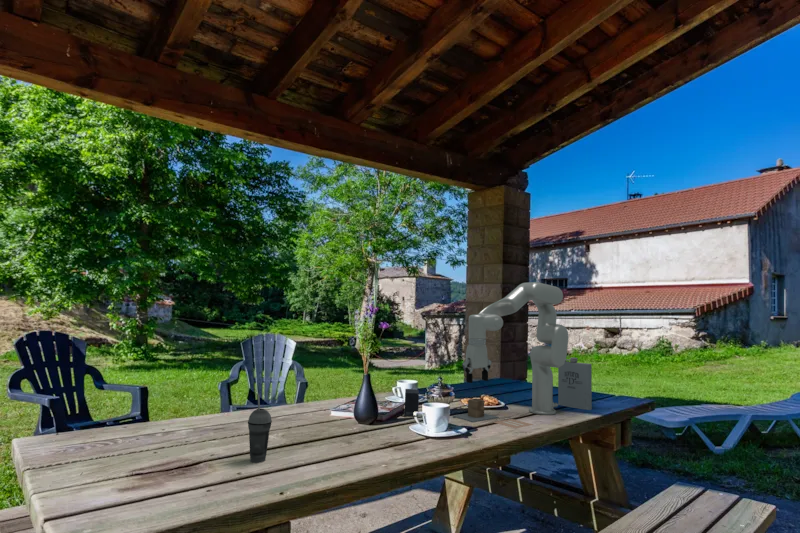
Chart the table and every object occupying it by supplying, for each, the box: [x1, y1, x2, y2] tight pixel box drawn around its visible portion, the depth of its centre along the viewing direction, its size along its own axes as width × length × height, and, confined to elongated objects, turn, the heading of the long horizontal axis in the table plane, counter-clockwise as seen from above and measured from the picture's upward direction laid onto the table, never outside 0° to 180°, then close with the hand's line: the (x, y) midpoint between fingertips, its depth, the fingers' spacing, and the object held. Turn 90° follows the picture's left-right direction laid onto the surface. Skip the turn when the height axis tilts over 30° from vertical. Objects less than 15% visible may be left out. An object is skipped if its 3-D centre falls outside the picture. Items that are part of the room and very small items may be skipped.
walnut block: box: [467, 398, 485, 418], centre depth 213 cm, size 5×5×7 cm
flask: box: [557, 357, 593, 411], centre depth 249 cm, size 17×5×25 cm, turn 44°
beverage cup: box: [247, 393, 273, 464], centre depth 150 cm, size 7×7×20 cm
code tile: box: [493, 418, 534, 429], centre depth 204 cm, size 12×12×1 cm
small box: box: [403, 388, 420, 417], centre depth 221 cm, size 11×6×10 cm, turn 179°
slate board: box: [452, 412, 500, 423], centre depth 213 cm, size 16×12×2 cm
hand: (477, 381), depth 214 cm, fingers open, 9 cm apart
